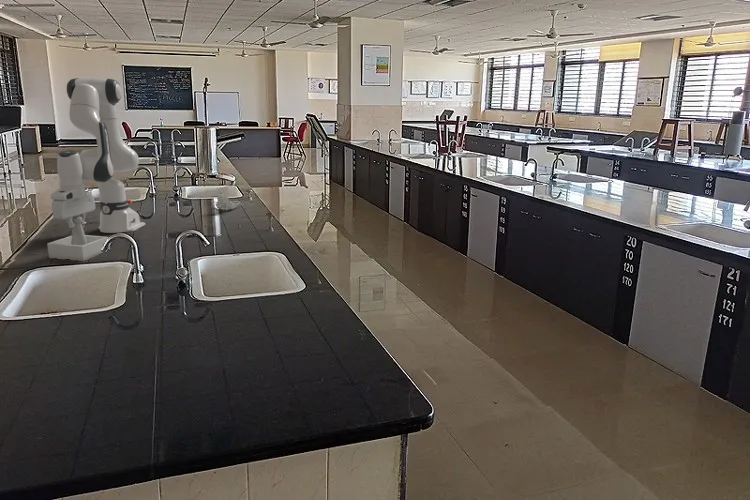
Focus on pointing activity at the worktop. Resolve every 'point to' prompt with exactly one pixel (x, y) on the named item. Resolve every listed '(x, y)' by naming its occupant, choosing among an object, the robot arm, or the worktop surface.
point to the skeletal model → (225, 202)
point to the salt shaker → (78, 232)
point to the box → (76, 248)
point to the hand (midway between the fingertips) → (76, 225)
